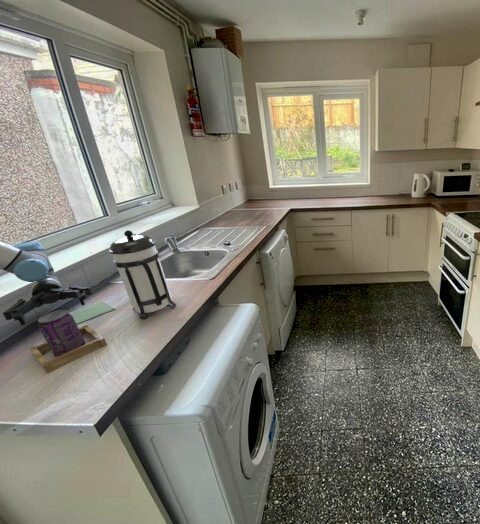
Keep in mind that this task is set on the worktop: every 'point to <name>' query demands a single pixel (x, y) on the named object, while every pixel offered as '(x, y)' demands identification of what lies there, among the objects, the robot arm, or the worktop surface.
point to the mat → (91, 312)
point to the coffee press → (141, 273)
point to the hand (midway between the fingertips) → (53, 310)
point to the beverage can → (60, 332)
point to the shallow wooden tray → (70, 355)
